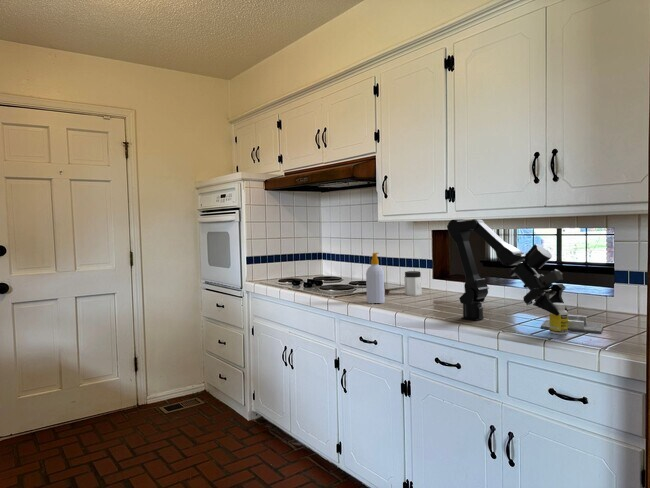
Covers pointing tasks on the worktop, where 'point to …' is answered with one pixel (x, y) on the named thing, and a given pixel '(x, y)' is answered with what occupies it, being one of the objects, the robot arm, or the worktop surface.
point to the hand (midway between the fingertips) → (562, 313)
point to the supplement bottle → (559, 320)
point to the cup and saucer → (386, 289)
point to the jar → (413, 283)
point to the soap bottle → (375, 282)
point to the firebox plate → (578, 325)
